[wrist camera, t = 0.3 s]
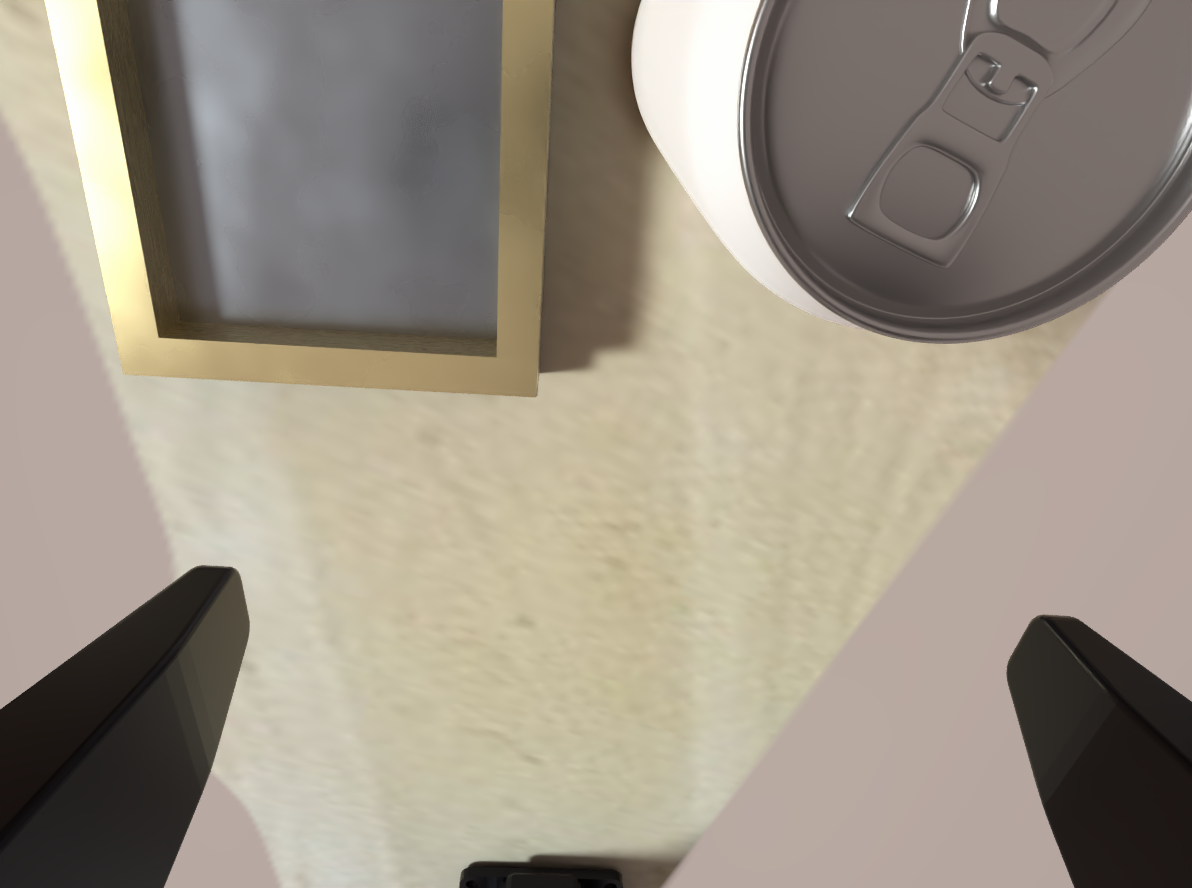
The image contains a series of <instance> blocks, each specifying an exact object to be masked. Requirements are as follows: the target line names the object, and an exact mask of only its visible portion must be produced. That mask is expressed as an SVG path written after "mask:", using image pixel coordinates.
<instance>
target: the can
mask: <svg viewBox="0 0 1192 888" xmlns="http://www.w3.org/2000/svg"><path fill="white" fill-rule="evenodd" d="M631 69H632V80H633V87H634V92H635V96H636V100H637V104H638V107H639V110H640V113H641V116H642V118H643V121H644V123H645V125H646V127H647V130H648V132H649V134H650V135H651V137H652V139H653V141H654V142H655V144H656V146H657V147H658V149H659V151H660V152H661V154H662V155H663V157H664V158H665V160H666V162H667V163H668V165H669V166H670V168H671V169H672V171H673V172H674V174H675V175H676V177H677V178H678V180H679V181H680V183H681V184H682V186H683V187H684V189H685V190H686V192H687V193H688V195H689V196H690V198H691V199H692V201H693V202H694V204H695V205H696V207H697V208H698V210H699V211H700V212H701V214H702V215H703V217H704V218H705V220H706V221H707V222H708V224H709V225H710V227H711V228H712V229H713V231H714V232H715V234H716V235H717V236H718V238H719V239H720V240H721V242H722V243H723V244H724V245H725V247H726V248H727V249H728V250H729V252H730V253H731V254H732V255H733V256H734V257H735V259H736V260H737V261H738V262H739V263H740V264H741V265H742V266H743V267H744V268H745V269H746V270H747V271H748V272H749V273H750V274H751V275H752V276H753V277H754V278H755V279H756V280H758V281H759V282H760V283H761V284H762V285H764V286H765V287H766V288H768V289H769V290H770V291H772V292H773V293H775V294H776V295H777V296H779V297H780V298H782V299H783V300H785V301H786V302H788V303H790V304H792V305H793V306H795V307H797V308H799V309H801V310H803V311H805V312H807V313H809V314H811V315H814V316H816V317H819V318H821V319H824V320H827V321H830V322H833V323H836V324H840V325H844V326H848V327H853V328H858V329H865V330H869V331H872V332H874V333H878V334H881V335H884V336H888V337H892V338H896V339H901V340H906V341H913V342H921V343H935V344H952V343H968V342H976V341H983V340H989V339H994V338H999V337H1003V336H1007V335H1011V334H1015V333H1018V332H1021V331H1025V330H1028V329H1030V328H1033V327H1036V326H1039V325H1041V324H1044V323H1046V322H1049V321H1051V320H1053V319H1056V318H1058V317H1060V316H1062V315H1064V314H1066V313H1068V312H1070V311H1072V310H1074V309H1076V308H1078V307H1080V306H1082V305H1083V304H1085V303H1087V302H1088V301H1090V300H1092V299H1093V298H1095V297H1097V296H1098V295H1100V294H1101V293H1103V292H1104V291H1106V290H1107V289H1109V288H1110V287H1112V286H1113V285H1115V284H1116V283H1117V282H1119V281H1120V280H1121V279H1123V278H1124V277H1125V276H1126V275H1128V274H1129V273H1130V272H1131V271H1132V270H1134V269H1135V268H1136V267H1137V266H1139V265H1140V264H1141V263H1142V262H1143V261H1144V260H1145V259H1147V258H1148V257H1149V256H1150V255H1151V254H1152V253H1153V252H1154V251H1155V250H1156V249H1157V248H1158V247H1159V246H1160V245H1161V244H1162V243H1163V242H1164V241H1165V240H1166V239H1167V238H1168V237H1169V236H1170V235H1171V234H1172V233H1173V232H1174V231H1175V229H1176V228H1177V227H1178V226H1179V225H1180V223H1182V221H1183V220H1184V219H1185V218H1186V217H1187V215H1188V214H1189V213H1190V212H1191V210H1192V0H641V3H640V6H639V9H638V12H637V16H636V21H635V25H634V31H633V38H632V49H631Z"/></svg>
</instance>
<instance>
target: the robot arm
mask: <svg viewBox="0 0 1192 888" xmlns="http://www.w3.org/2000/svg"><path fill="white" fill-rule="evenodd" d="M249 629H250V621H249V615H248V610H247V605H246V601H245V596H244V591H243V586H242V581H241V577H240V574H239V572H238V571H237V570H236V569H235V568H232V567H224V566H207V565H201V566H197V567H194V568H192V569H191V570H189V571H188V572H187V573H185V574H184V575H182V576H181V577H180V578H178V579H177V580H176V581H174V582H173V583H172V584H170V585H169V586H168V587H166V588H165V589H163V590H162V591H161V592H159V593H158V594H157V595H155V596H154V597H153V598H152V599H150V600H149V601H147V602H146V603H145V604H143V605H142V606H140V607H139V608H138V609H136V610H135V611H134V612H132V613H131V614H130V615H128V616H127V617H125V618H124V619H123V620H121V621H120V622H119V623H117V624H116V625H115V626H113V627H112V628H110V629H109V630H108V631H106V632H105V633H104V634H102V635H101V636H100V637H98V638H97V639H95V640H94V641H93V642H91V643H90V644H89V645H87V646H86V647H85V648H84V649H82V650H81V651H79V652H78V653H77V654H75V655H74V656H72V657H71V658H70V659H68V660H67V661H66V662H64V663H63V664H62V665H60V666H59V667H58V668H56V669H55V670H53V671H52V672H51V673H49V674H48V675H47V676H45V677H44V678H43V679H41V680H40V681H38V682H37V683H36V684H34V685H33V686H32V687H30V688H29V689H27V690H26V691H25V692H23V693H22V694H21V695H19V696H18V697H17V698H16V699H14V700H13V701H11V702H10V703H9V704H7V705H6V706H5V707H3V708H2V709H0V888H164V886H165V883H166V881H167V878H168V876H169V874H170V871H171V868H172V866H173V864H174V861H175V859H176V856H177V854H178V851H179V849H180V847H181V844H182V842H183V839H184V837H185V834H186V832H187V829H188V827H189V825H190V822H191V820H192V817H193V815H194V812H195V810H196V807H197V805H198V803H199V800H200V798H201V795H202V793H203V790H204V787H205V785H206V782H207V779H208V777H209V774H210V772H211V768H212V765H213V762H214V759H215V755H216V752H217V749H218V745H219V742H220V738H221V735H222V731H223V727H224V724H225V720H226V717H227V713H228V710H229V706H230V703H231V699H232V695H233V692H234V688H235V685H236V681H237V678H238V674H239V671H240V667H241V664H242V660H243V656H244V653H245V649H246V646H247V642H248V637H249ZM1007 681H1008V686H1009V689H1010V693H1011V696H1012V700H1013V704H1014V707H1015V711H1016V714H1017V718H1018V721H1019V725H1020V728H1021V732H1022V736H1023V739H1024V743H1025V746H1026V750H1027V753H1028V757H1029V761H1030V764H1031V768H1032V771H1033V775H1034V778H1035V782H1036V785H1037V788H1038V792H1039V795H1040V798H1041V801H1042V804H1043V807H1044V810H1045V813H1046V816H1047V818H1048V821H1049V824H1050V827H1051V829H1052V832H1053V834H1054V837H1055V840H1056V842H1057V844H1058V847H1059V849H1060V852H1061V855H1062V857H1063V860H1064V862H1065V865H1066V867H1067V870H1068V872H1069V875H1070V878H1071V880H1072V883H1073V885H1074V888H1192V702H1191V701H1190V700H1188V699H1187V698H1186V697H1184V696H1183V695H1182V694H1180V693H1179V692H1178V691H1176V690H1175V689H1173V688H1172V687H1171V686H1169V685H1168V684H1167V683H1165V682H1164V681H1162V680H1161V679H1160V678H1158V677H1157V676H1156V675H1154V674H1153V673H1152V672H1150V671H1149V670H1147V669H1146V668H1145V667H1143V666H1142V665H1140V664H1139V663H1138V662H1136V661H1135V660H1134V659H1132V658H1131V657H1129V656H1128V655H1127V654H1125V653H1124V652H1123V651H1121V650H1120V649H1118V648H1117V647H1116V646H1114V645H1113V644H1112V643H1110V642H1109V641H1108V640H1106V639H1105V638H1103V637H1102V636H1101V635H1099V634H1098V633H1097V632H1095V631H1094V630H1092V629H1091V628H1090V627H1088V626H1087V625H1086V624H1084V623H1083V622H1081V621H1080V620H1078V619H1076V618H1074V617H1070V616H1058V615H1039V616H1037V617H1035V618H1034V619H1032V621H1031V622H1030V624H1029V625H1028V627H1027V629H1026V631H1025V632H1024V634H1023V636H1022V637H1021V639H1020V641H1019V643H1018V645H1017V646H1016V648H1015V650H1014V652H1013V653H1012V655H1011V657H1010V659H1009V661H1008V665H1007ZM460 888H623V882H622V875H621V874H620V873H619V872H617V871H614V870H587V869H542V868H498V867H468V868H466V869H464V870H463V871H462V872H461V877H460Z"/></svg>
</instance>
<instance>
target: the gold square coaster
mask: <svg viewBox="0 0 1192 888" xmlns="http://www.w3.org/2000/svg"><path fill="white" fill-rule="evenodd" d="M555 3H556V0H45V4H46V8H47V13H48V18H49V23H50V27H51V32H52V37H53V42H54V46H55V51H56V56H57V61H58V66H59V70H60V75H61V80H62V85H63V89H64V94H65V99H66V104H67V108H68V113H69V118H70V123H71V128H72V132H73V137H74V142H75V147H76V151H77V156H78V161H79V166H80V170H81V175H82V180H83V185H84V189H85V194H86V199H87V204H88V209H89V213H90V218H91V223H92V228H93V232H94V237H95V242H96V247H97V251H98V256H99V261H100V266H101V270H102V275H103V280H104V285H105V290H106V294H107V299H108V304H109V309H110V313H111V318H112V323H113V328H114V332H115V337H116V342H117V347H118V351H119V356H120V361H121V366H122V371H123V374H125V375H143V376H161V377H179V378H197V379H215V380H233V381H251V382H269V383H287V384H305V385H323V386H341V387H360V388H378V389H396V390H414V391H432V392H450V393H468V394H486V395H504V396H522V397H536V396H537V393H538V382H539V367H540V345H541V322H542V299H543V276H544V253H545V231H546V208H547V185H548V162H549V139H550V117H551V94H552V71H553V48H554V26H555Z"/></svg>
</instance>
